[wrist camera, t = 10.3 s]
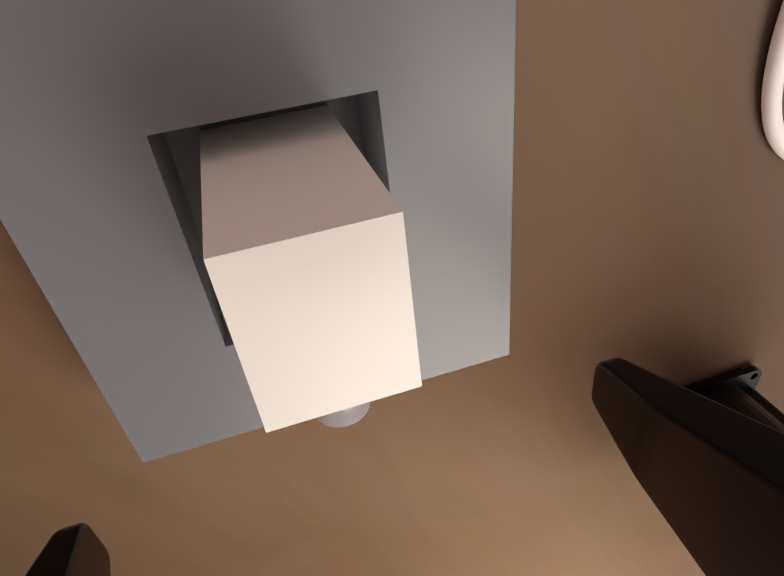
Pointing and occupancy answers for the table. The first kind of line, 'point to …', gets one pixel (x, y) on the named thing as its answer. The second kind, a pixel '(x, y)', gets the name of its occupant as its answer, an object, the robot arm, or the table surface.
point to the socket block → (183, 174)
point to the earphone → (774, 89)
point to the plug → (307, 267)
